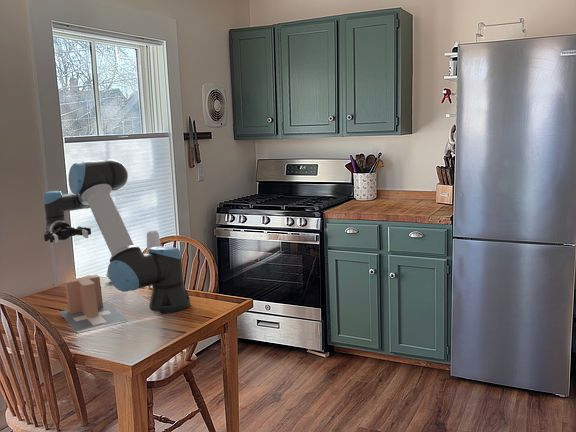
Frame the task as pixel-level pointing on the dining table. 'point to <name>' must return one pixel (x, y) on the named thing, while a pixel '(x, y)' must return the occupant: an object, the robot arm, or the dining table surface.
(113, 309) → the slate board
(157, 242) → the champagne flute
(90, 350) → the dining table surface
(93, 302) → the t block
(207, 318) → the dining table surface
